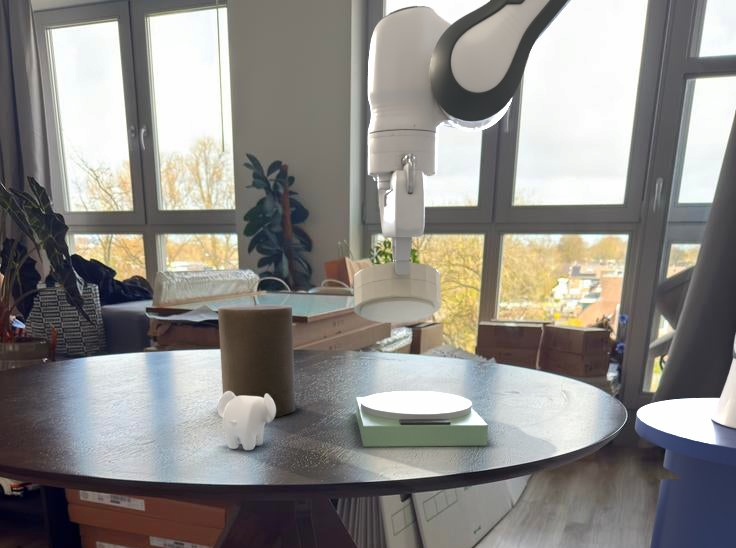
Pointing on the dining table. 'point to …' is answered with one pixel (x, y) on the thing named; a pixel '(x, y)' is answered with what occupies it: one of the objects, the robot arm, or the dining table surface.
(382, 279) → the bowl
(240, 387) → the pillar candle
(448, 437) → the scale
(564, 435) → the dining table surface
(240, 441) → the elephant figurine
